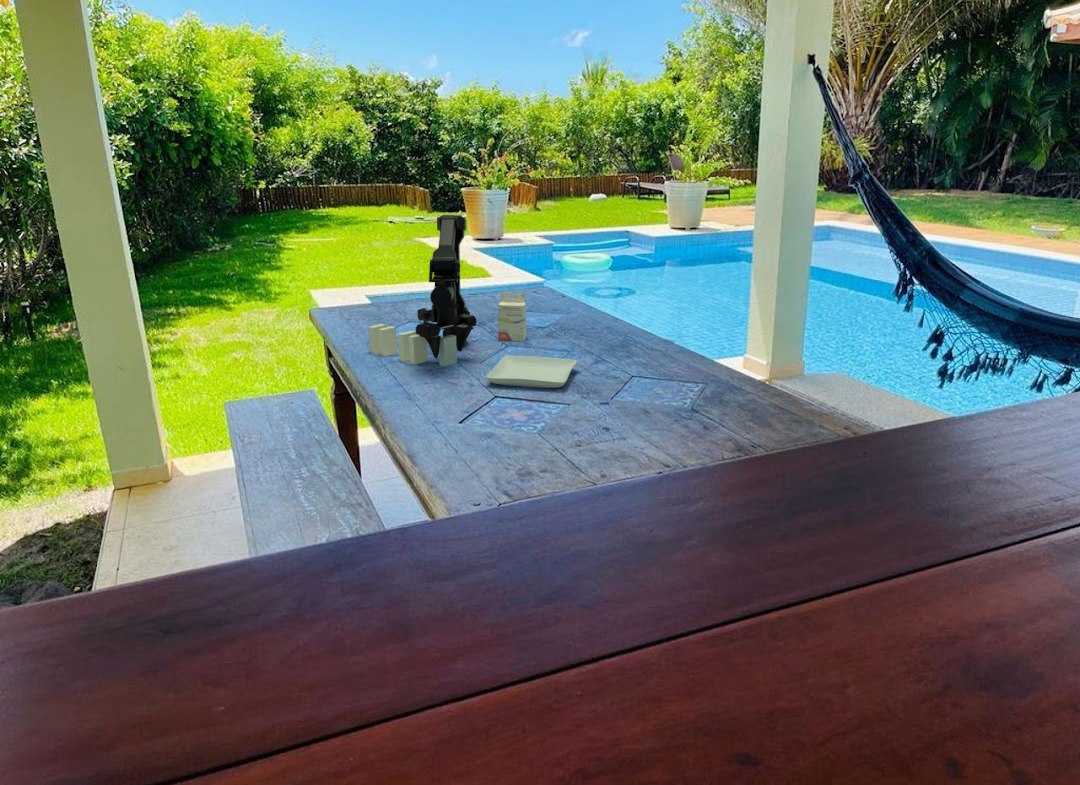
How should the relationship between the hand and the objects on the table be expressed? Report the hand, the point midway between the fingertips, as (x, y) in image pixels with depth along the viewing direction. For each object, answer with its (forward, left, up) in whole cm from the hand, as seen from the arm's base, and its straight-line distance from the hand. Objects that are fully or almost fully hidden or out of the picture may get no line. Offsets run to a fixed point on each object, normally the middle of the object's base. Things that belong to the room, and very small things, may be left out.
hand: (447, 354), depth 219 cm
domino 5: (0, 0, -3) cm, 3 cm away
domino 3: (+13, -3, -3) cm, 13 cm away
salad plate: (-26, +9, -3) cm, 28 cm away
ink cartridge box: (-12, -31, -3) cm, 33 cm away
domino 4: (+9, -1, -3) cm, 9 cm away
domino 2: (+21, -7, -3) cm, 22 cm away
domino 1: (+24, -10, -3) cm, 26 cm away
